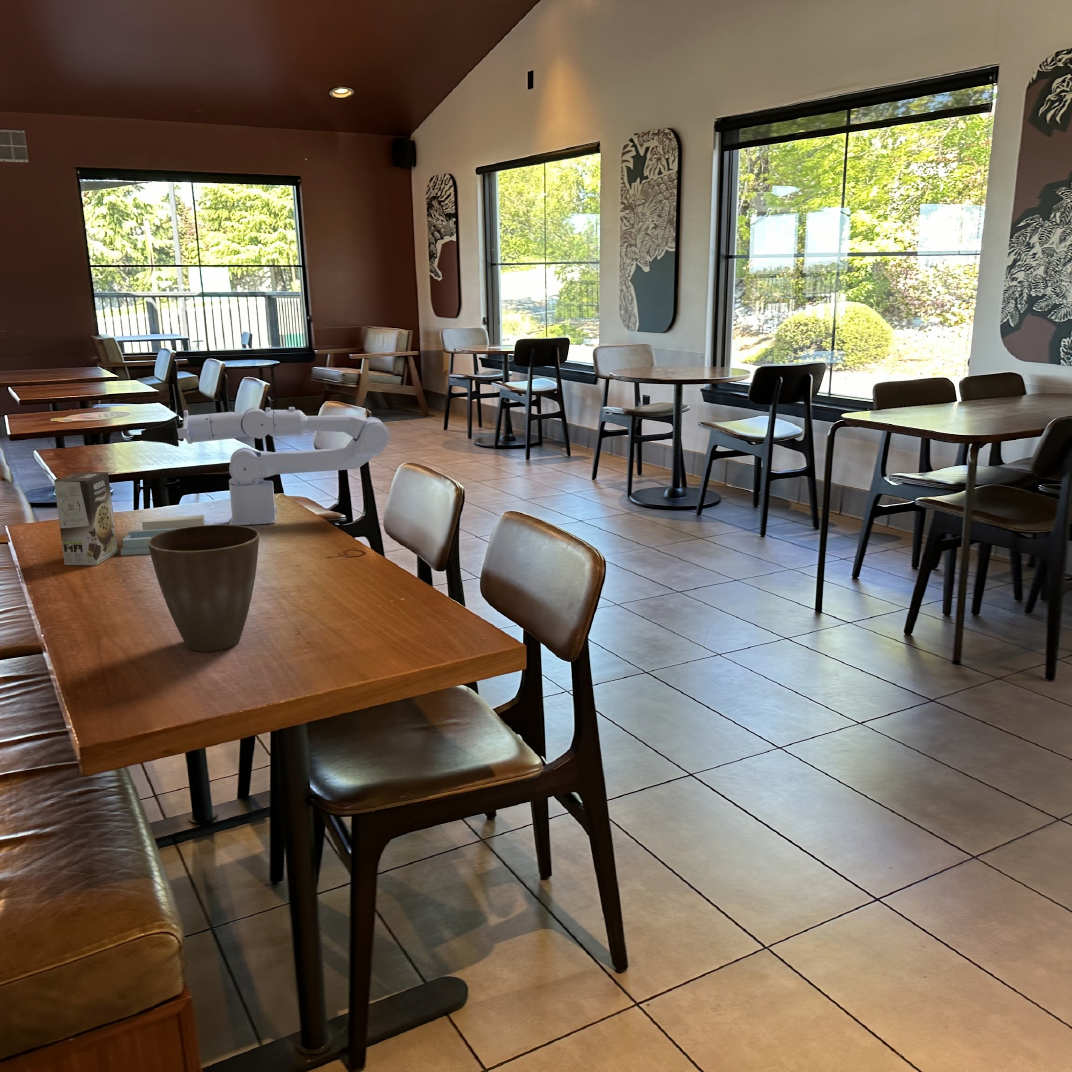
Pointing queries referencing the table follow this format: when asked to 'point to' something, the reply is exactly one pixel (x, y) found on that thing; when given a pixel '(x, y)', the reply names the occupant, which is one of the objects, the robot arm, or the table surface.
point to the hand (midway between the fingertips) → (144, 433)
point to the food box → (86, 518)
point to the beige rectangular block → (172, 522)
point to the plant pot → (207, 581)
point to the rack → (139, 541)
